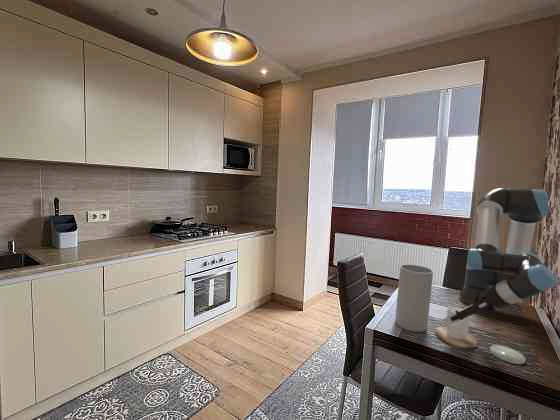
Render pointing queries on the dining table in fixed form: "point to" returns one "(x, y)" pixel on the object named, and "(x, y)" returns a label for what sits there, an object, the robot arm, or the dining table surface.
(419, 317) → the cylinder vase
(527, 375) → the dining table surface
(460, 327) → the white cup
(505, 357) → the sage coaster
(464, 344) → the birch trivet
